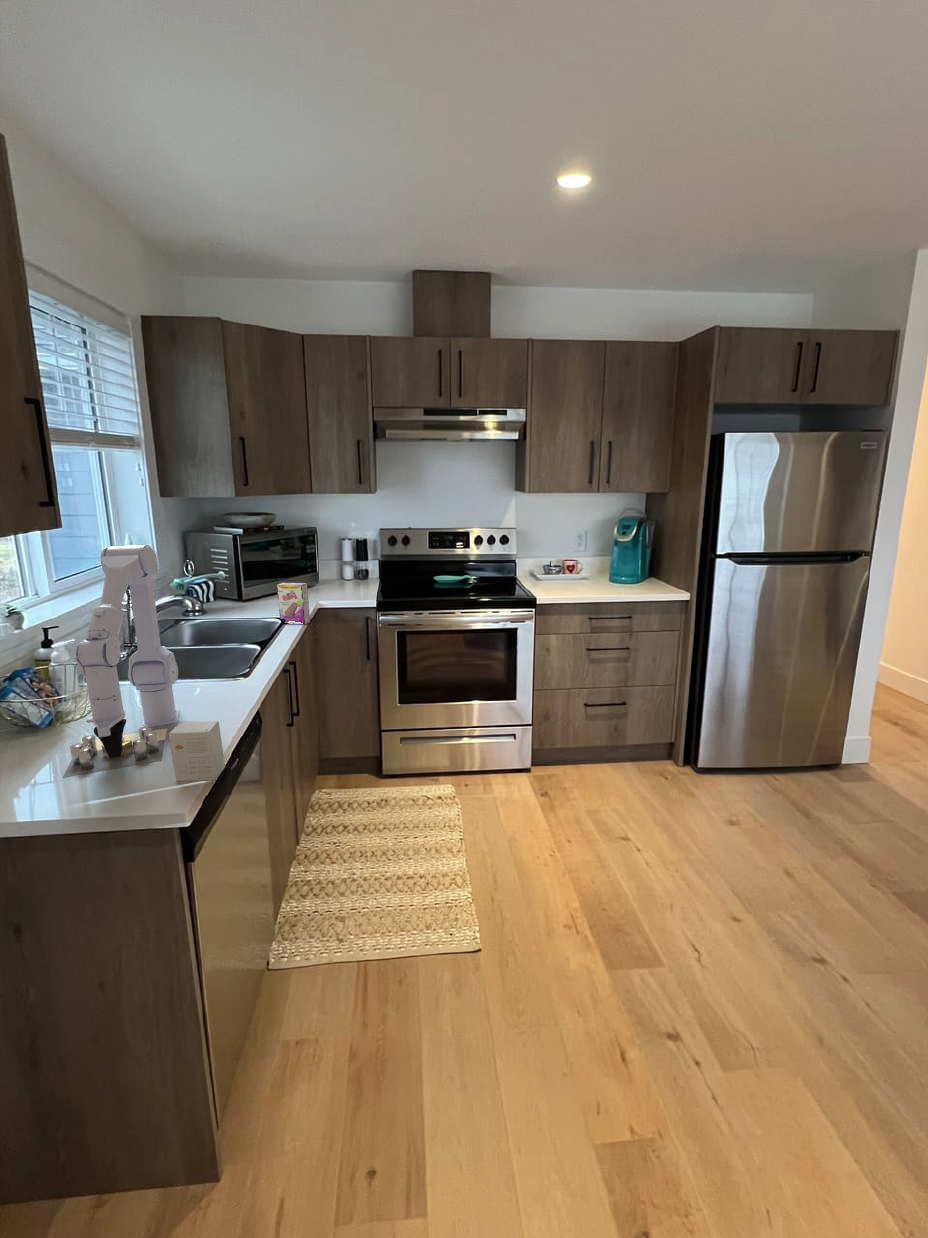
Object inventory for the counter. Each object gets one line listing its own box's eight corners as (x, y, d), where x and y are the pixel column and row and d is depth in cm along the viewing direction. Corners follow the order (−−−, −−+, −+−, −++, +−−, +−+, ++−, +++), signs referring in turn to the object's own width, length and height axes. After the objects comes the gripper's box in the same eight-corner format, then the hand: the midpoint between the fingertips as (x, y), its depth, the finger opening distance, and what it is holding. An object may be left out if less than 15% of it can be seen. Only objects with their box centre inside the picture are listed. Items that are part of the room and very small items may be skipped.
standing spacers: (78, 754, 137) (75, 737, 136) (161, 741, 142) (158, 724, 141) (69, 772, 128) (65, 754, 127) (157, 758, 134) (154, 740, 133)
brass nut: (105, 751, 138) (103, 740, 137) (134, 746, 140) (132, 735, 139) (101, 760, 133) (99, 749, 133) (131, 755, 135) (130, 744, 135)
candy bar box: (279, 624, 255) (275, 584, 251) (286, 621, 259) (282, 582, 256) (305, 625, 252) (301, 584, 248) (311, 622, 257) (307, 582, 253)
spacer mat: (81, 743, 144) (81, 741, 143) (167, 729, 150) (167, 728, 150) (62, 779, 126) (62, 777, 126) (161, 762, 132) (161, 760, 132)
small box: (226, 768, 129) (220, 720, 127) (216, 781, 123) (210, 731, 121) (186, 770, 129) (179, 721, 126) (175, 783, 123) (167, 733, 121)
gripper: (89, 687, 135) (99, 746, 138) (75, 710, 122) (87, 774, 125) (126, 682, 138) (135, 740, 141) (116, 704, 124) (127, 767, 127)
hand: (115, 756), depth 133 cm, fingers closed
